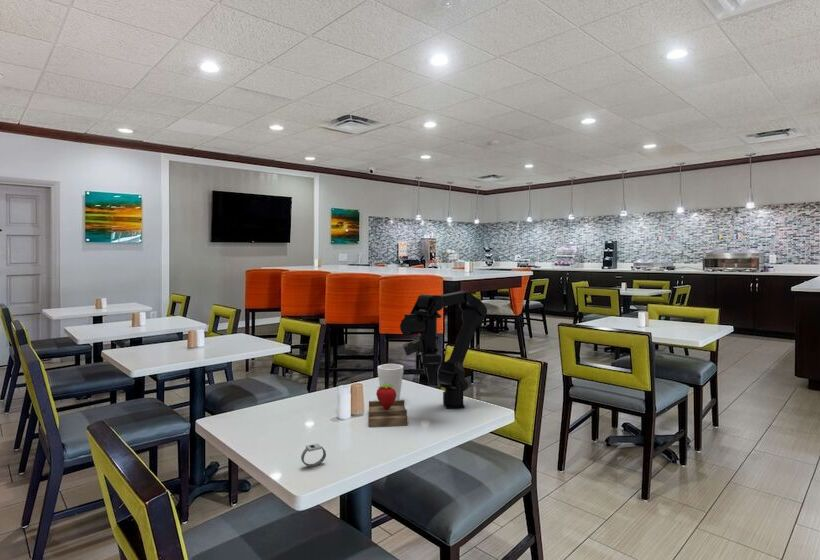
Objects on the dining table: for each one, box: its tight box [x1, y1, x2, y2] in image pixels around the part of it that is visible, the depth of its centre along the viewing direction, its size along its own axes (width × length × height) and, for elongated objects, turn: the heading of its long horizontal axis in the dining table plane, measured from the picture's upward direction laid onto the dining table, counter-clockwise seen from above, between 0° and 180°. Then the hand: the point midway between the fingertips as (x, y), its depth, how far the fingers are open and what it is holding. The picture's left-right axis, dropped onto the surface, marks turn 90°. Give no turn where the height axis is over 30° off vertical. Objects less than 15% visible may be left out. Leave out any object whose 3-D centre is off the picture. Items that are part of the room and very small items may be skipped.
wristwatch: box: [300, 443, 327, 468], centre depth 119 cm, size 6×3×5 cm, turn 121°
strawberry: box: [376, 381, 396, 410], centre depth 155 cm, size 6×8×10 cm
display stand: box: [368, 399, 408, 428], centre depth 155 cm, size 12×16×4 cm
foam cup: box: [377, 363, 404, 400], centre depth 172 cm, size 10×9×13 cm
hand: (428, 378), depth 158 cm, fingers open, 9 cm apart
